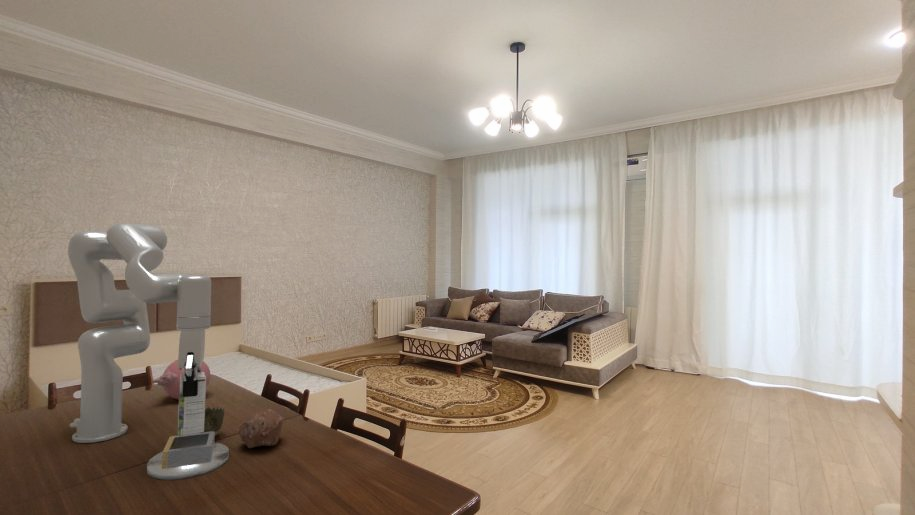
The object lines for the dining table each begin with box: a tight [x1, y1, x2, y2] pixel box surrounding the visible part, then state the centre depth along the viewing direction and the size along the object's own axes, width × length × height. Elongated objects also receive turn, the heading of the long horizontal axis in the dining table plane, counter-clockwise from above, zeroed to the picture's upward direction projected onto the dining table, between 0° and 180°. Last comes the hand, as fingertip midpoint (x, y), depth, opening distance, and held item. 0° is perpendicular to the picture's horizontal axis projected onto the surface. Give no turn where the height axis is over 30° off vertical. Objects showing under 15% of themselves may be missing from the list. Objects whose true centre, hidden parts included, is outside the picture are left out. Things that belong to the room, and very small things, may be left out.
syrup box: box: [177, 372, 207, 436], centre depth 114 cm, size 6×6×14 cm
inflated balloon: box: [151, 359, 211, 401], centre depth 161 cm, size 15×20×15 cm
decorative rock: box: [237, 408, 284, 449], centre depth 125 cm, size 13×11×10 cm
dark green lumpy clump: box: [201, 406, 226, 438], centre depth 129 cm, size 8×7×8 cm
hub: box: [146, 431, 230, 481], centre depth 114 cm, size 18×18×6 cm
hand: (192, 391), depth 114 cm, fingers closed on syrup box, 6 cm apart
